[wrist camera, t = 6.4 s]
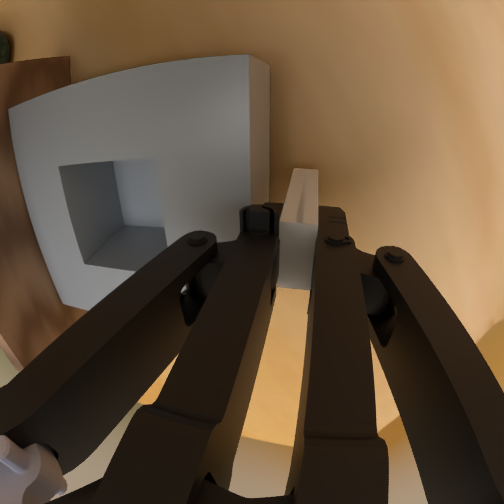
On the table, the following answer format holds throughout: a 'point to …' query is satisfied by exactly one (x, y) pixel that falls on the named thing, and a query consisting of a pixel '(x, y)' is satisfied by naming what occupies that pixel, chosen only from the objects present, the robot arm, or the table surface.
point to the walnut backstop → (26, 229)
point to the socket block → (141, 165)
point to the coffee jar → (4, 49)
